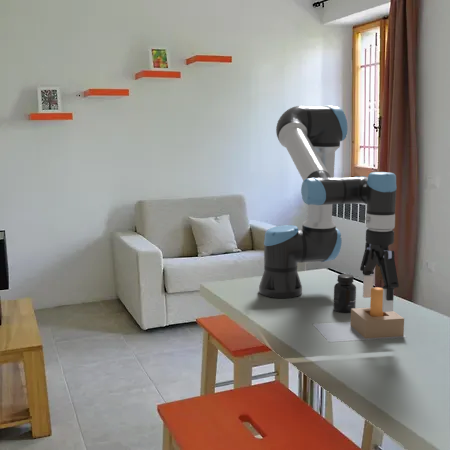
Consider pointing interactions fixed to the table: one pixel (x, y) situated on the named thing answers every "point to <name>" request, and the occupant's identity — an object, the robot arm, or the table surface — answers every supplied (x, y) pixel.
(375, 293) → the peg
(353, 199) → the robot arm
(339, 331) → the socket board
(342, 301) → the supplement bottle
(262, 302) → the table surface
